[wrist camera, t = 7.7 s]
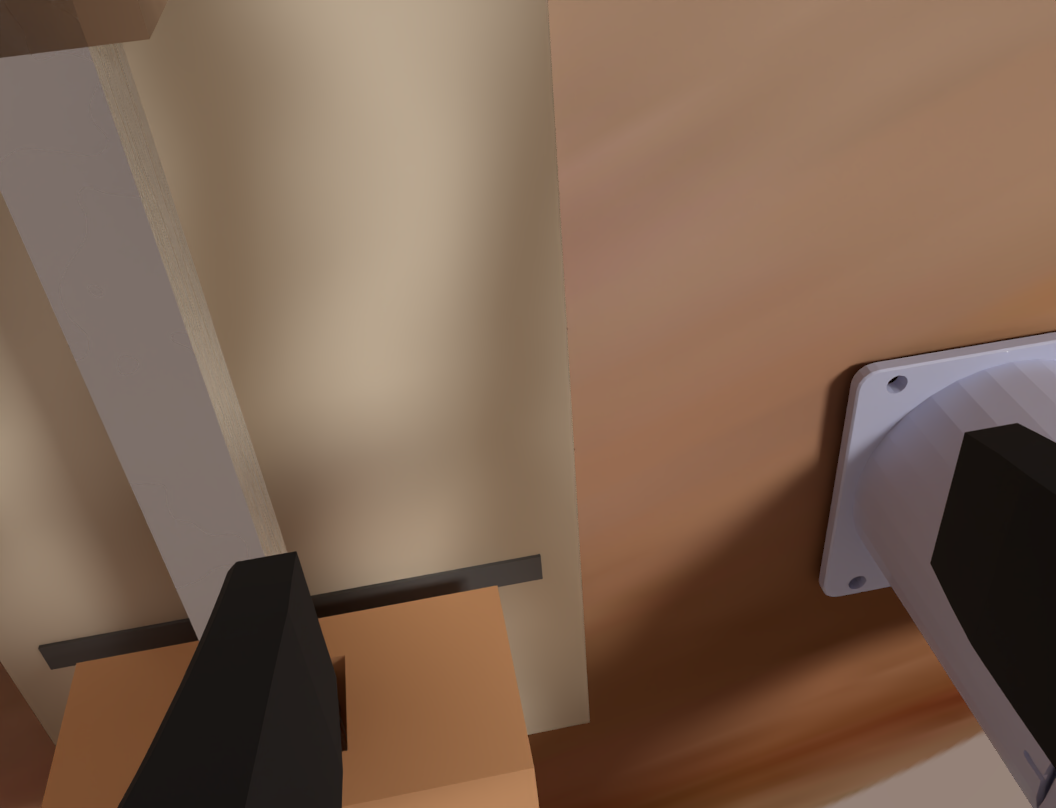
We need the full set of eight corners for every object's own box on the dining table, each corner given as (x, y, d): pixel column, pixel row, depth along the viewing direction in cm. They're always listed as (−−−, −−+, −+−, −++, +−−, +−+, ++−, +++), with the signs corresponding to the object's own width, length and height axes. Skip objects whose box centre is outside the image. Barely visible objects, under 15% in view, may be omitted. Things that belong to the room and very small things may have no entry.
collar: (497, 585, 22) (534, 767, 19) (511, 689, 25) (547, 869, 21) (76, 662, 21) (25, 871, 18) (134, 763, 24) (99, 965, 20)
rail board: (520, -273, 14) (603, -257, 10) (582, 694, 29) (627, 863, 25) (-486, -173, 13) (-863, -108, 9) (110, 787, 28) (73, 983, 23)
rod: (77, -112, 12) (45, -86, 10) (381, 832, 25) (384, 897, 24) (-69, -96, 11) (-121, -68, 10) (315, 846, 25) (315, 912, 23)
